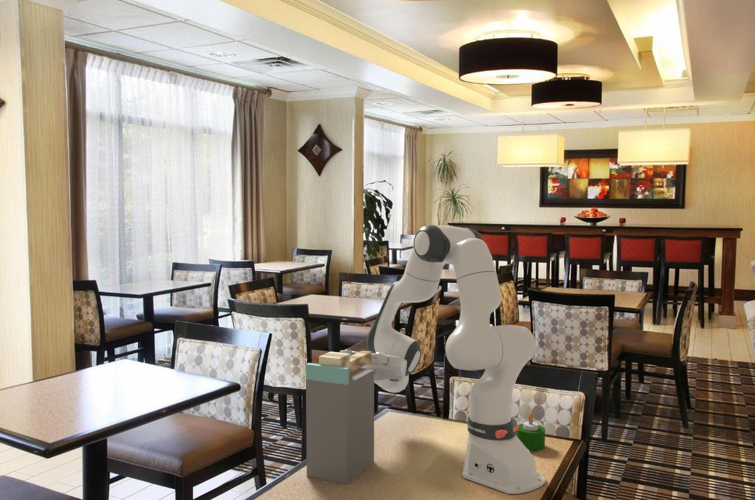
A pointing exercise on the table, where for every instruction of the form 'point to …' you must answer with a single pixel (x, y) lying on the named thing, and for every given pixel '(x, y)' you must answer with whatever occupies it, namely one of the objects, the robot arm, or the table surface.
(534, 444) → the candle
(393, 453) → the table surface
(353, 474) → the pedestal
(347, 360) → the mallet
